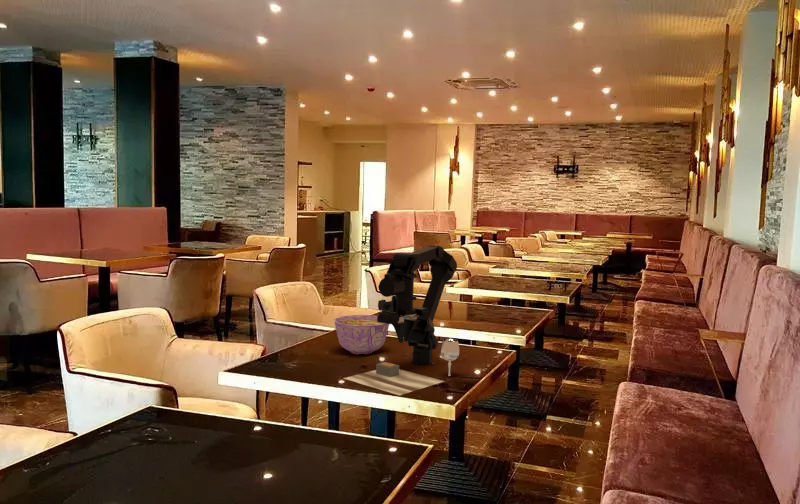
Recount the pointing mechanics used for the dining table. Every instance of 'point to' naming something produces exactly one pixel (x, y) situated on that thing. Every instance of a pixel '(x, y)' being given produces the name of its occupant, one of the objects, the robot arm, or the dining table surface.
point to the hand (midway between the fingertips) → (403, 342)
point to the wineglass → (449, 351)
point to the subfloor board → (394, 381)
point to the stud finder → (387, 369)
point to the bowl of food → (360, 333)
